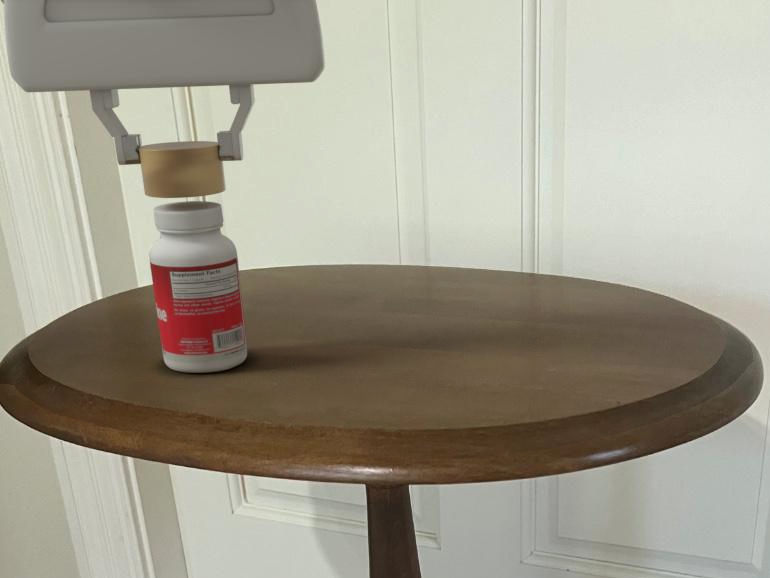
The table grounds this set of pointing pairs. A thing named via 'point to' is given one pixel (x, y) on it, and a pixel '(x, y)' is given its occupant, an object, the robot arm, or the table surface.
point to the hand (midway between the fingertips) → (182, 162)
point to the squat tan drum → (182, 169)
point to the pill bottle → (197, 289)
